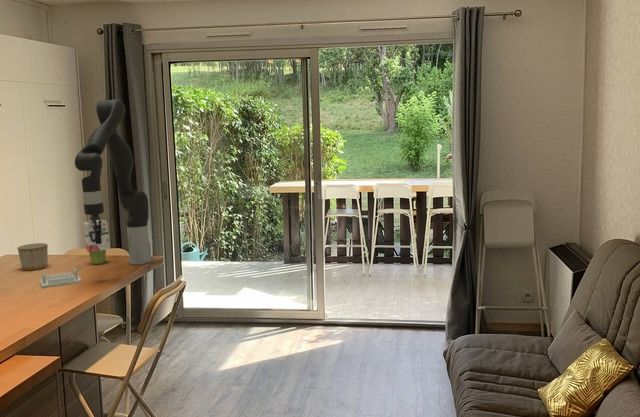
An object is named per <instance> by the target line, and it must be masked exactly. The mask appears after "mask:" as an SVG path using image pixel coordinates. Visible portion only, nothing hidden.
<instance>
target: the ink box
mask: <svg viewBox="0 0 640 417" xmlns="http://www.w3.org/2000/svg"><path fill="white" fill-rule="evenodd" d="M92 225H94V223H93V224H92V223H91V222H90V221H86V222H83V229H84V237H85V239H84V240H85V246H86V251H87V252H88V253H89V252H94V251H100V250H106V251H107V250H111V245H110V236H109V235H110V234H109V224H108V221H106V220H105V219H101V231H102V234H101V241H102V243H101V244H96V240H95V235H94V230H93V227H92ZM96 231H99V229H96Z"/></svg>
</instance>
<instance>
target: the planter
mask: <svg viewBox="0 0 640 417" xmlns="http://www.w3.org/2000/svg"><path fill="white" fill-rule="evenodd" d="M48 245H49V244H48V243H43V242H41V243H40V242H38V243H37V242H36V243H29V244H24V245H23V244H22V245H19V246H17V252H18V256H19V261H20V267H21V269H22V270H24V271H29V270H30V271H38V270H42V269H46V268H47V267H48V264H49V263H48V257H49V256H48V255H49V253H48V252H49V251H48Z"/></svg>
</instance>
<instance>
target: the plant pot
mask: <svg viewBox="0 0 640 417" xmlns="http://www.w3.org/2000/svg"><path fill="white" fill-rule="evenodd" d="M88 253H89V254H88V255H89V258H90V262H91V264H92V265H101V264H104V263H106V262H107V261H106V259H107V258H106V257H107V256H106V255H107V254H106V253H107V249H106V250H100V251H94V252H89V251H88Z"/></svg>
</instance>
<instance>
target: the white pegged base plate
mask: <svg viewBox="0 0 640 417" xmlns="http://www.w3.org/2000/svg"><path fill="white" fill-rule="evenodd" d="M72 270H73V271H72V272H66V273H65V272H63V273H58V274H48V275H46V272H45V271H41V279H40V280H39V281H40V286H41V289H46V288H52V287H57V286H60V287H61V286H66V285H67V286H68V285H72V284H80V283H82V279H81V277H80V276H79V274H78V269H77V267H76V266H74V267H72Z"/></svg>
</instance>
